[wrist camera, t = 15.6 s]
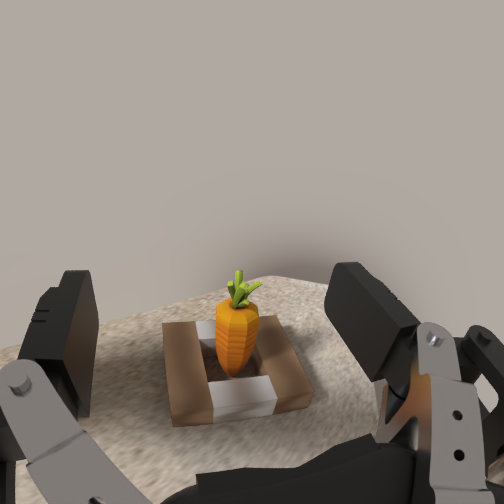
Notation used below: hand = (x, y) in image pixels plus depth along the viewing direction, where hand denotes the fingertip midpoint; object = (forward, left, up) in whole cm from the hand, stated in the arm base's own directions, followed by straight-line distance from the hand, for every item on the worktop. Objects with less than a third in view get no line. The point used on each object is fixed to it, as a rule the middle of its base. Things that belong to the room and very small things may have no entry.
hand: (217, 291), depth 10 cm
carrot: (+6, +17, -26) cm, 32 cm away
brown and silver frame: (+6, +17, -26) cm, 32 cm away
